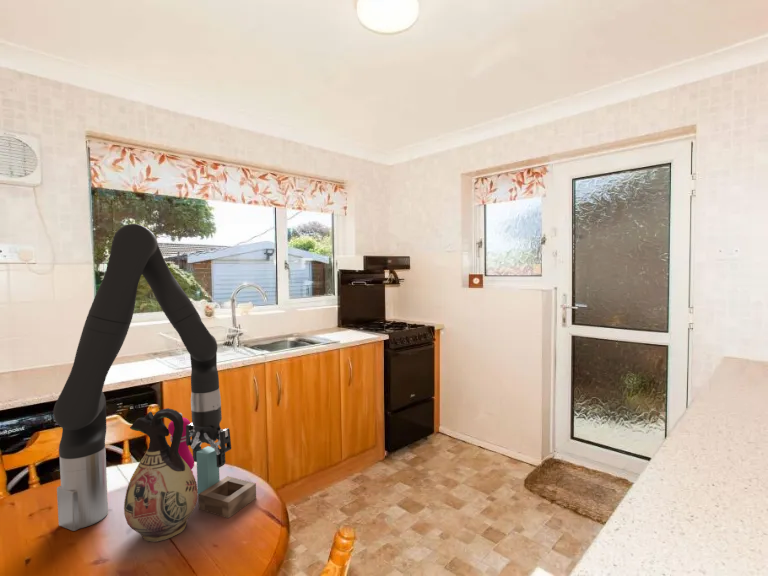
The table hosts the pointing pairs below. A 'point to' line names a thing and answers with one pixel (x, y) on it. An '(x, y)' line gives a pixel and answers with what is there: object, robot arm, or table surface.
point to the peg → (206, 468)
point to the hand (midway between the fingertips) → (209, 463)
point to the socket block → (223, 505)
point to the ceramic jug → (160, 482)
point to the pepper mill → (183, 443)
